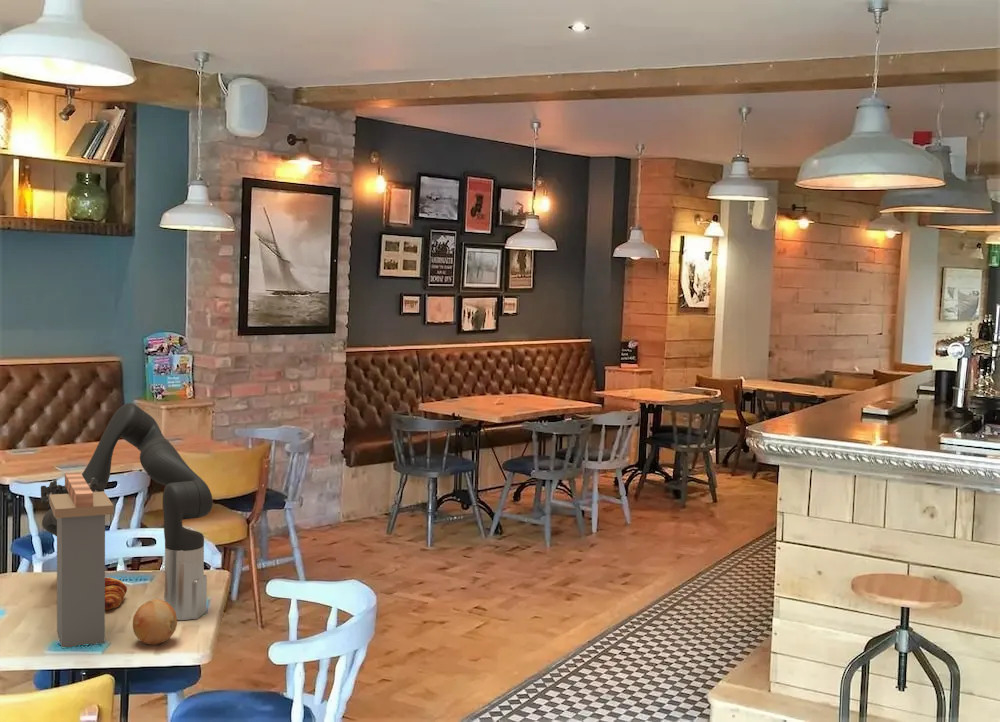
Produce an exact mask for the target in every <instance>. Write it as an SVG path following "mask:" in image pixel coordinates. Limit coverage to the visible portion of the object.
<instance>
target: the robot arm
mask: <svg viewBox="0 0 1000 722" xmlns="http://www.w3.org/2000/svg"><path fill="white" fill-rule="evenodd" d="M120 438H121V439H123V440H124V441H126V442H127V443H129V444H130V445H132V446H134V447H135V448H136V449H137V450H139V452H140V454H139V461H140V464H141V466H142V468H143V470H144V471H145V472H146V474H147V475H148V477H149V478H150V479H151V480H153V481H154V482H155V483H158V484H160V485H162V486H165V487H164V489H163V494H162V513H163V535H164V537H163V538H164V597H163V598H164V600H163V601H165V602H167V603H168V604H170V605H171V606H172V607H173V609H174V611H175V613H176V617H177V621H188V620H199V618H200V617H202V616H203V615H205V612H206V613H207V605H208V604H207V603H208V602H207V601H208V600H207V595H208V594H207V593H208V591H207V590H208V589H207V588H208V587H207V586H208V576H207V574H204V573H205V572H204V570H205V569H204V568H205V566H204V565H205V561H204V560H205V558H204V557H205V536H204V533H201V532H200V531H197V530H189V529H186V528H184V527H185V526H183V520H191V519H198V518H203V517H206V516H208V514H210V512H211V511H212V508H213V503H214V502H213V501H214V500H213V495H212V492H211V490H210V488H209V485H208V484H207V482H205V480H204V479H202V478H201V477H200V476H199V475H198V474H197V473H196V472H195V471H194V470H193V469H191V468H190V466H189V465H188V464H187V463H186V461H185V460H184V459H183V458H182V457H181V455H180V453H179V452H178V451H177V449H176V448H175V446H173V445H172V444H171V442H170V441H169V440H168V439H166V438H165V437H164V434H163V432H162V431H161V429H160V426H159V424H158V423H157V421H156V420H155V418H154V417H153V416H151V415H150V414H149V413H148V412H146V411H145V410H143V409H142V408H141V407H139V406H138V405H137V404H134V403H132V402H128V403H125V404H123V405H122V406H120V407H119V408H118V409H117V410H116V411H115V413H113V415H112V416H111V418H110V420H109V422H108V424H107V426H106V428H105V429H104V432H103V434H102V436H101V438H100V440H99V442H98V444H97V446H96V448H95V450H94V452H93V454H92V457H91V458H90V460H89V462H88V464H87V465H86V467H85V469H84V470H83V472H82V473H81V474H82V476H83V478H84V479H85V481H86V482H87V484H88V486H89V487H90V489H91V491H92V492H102V491H104V492H105V488H106V487H107V486H108V482H109V480H110V476H111V469H112V460H113V454H114V450H115V447H116V445H117V443H118V441H119V440H120ZM54 494H69V493H68V491H67V489H66V487H65V485H61V484H58V480H57V479H53V480H52V481H51V482H49V485H48V486H46V485H41V486H40V503H41V504H45V503H47V502H49V495H54ZM41 525H42V528H43V529H44V530H45V531H47V532H48V533H49V534H52V535H53V536H55V537H57V518H55V516H54V514H53V511H52V509H51V508H49V510H48V511H46V513H45V514H44V516H43V518H42V520H41Z"/></svg>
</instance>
